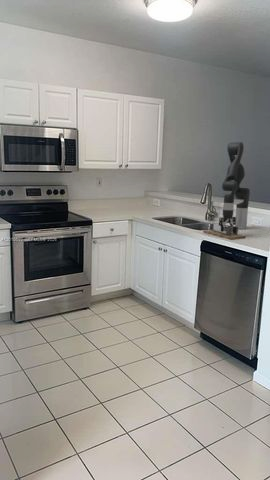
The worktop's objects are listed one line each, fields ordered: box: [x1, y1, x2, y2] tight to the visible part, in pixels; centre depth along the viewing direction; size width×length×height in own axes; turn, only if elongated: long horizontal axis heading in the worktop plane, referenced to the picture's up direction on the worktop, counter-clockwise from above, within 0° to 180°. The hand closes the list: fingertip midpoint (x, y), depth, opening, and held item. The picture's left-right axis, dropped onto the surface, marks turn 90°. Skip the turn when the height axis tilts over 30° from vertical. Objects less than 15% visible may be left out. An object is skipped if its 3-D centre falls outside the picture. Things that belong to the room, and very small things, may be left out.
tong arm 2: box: [215, 222, 239, 234], centre depth 286 cm, size 20×2×5 cm, turn 36°
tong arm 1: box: [212, 223, 231, 235], centre depth 284 cm, size 20×2×5 cm, turn 24°
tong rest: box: [202, 222, 247, 241], centre depth 286 cm, size 30×14×8 cm, turn 30°
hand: (226, 231), depth 283 cm, fingers open, 8 cm apart
